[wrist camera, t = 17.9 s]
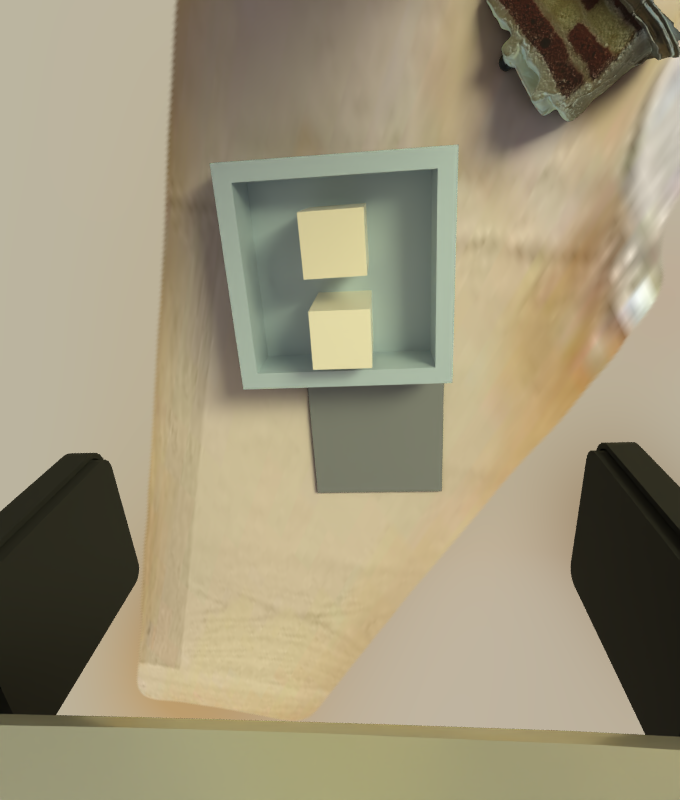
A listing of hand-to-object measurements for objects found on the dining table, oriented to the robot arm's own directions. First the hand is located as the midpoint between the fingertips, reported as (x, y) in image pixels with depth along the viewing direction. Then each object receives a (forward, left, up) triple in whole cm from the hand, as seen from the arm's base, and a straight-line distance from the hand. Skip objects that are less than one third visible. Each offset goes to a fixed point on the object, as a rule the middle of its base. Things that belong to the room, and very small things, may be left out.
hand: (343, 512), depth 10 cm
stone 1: (-3, -2, -30) cm, 30 cm away
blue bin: (0, -2, -30) cm, 30 cm away
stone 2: (+4, -2, -30) cm, 30 cm away
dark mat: (+14, 0, -30) cm, 33 cm away
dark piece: (-14, +12, -30) cm, 35 cm away
